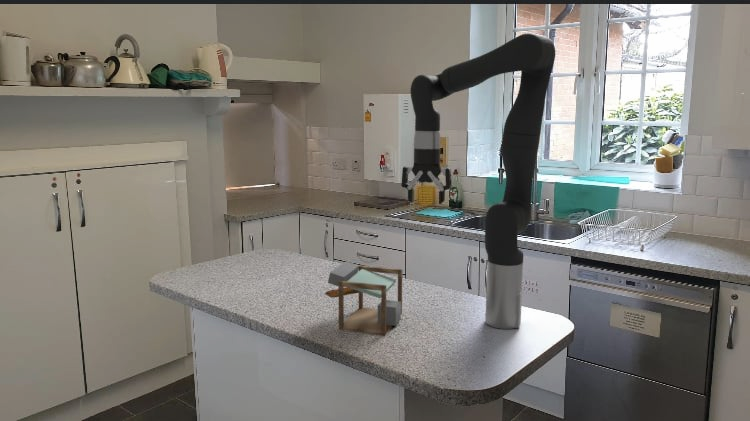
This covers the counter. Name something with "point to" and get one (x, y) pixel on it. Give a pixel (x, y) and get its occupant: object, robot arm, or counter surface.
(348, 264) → the trapdoor
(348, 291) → the primitive tool
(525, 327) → the counter surface
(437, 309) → the counter surface
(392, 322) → the stone
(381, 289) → the wooden box frame
